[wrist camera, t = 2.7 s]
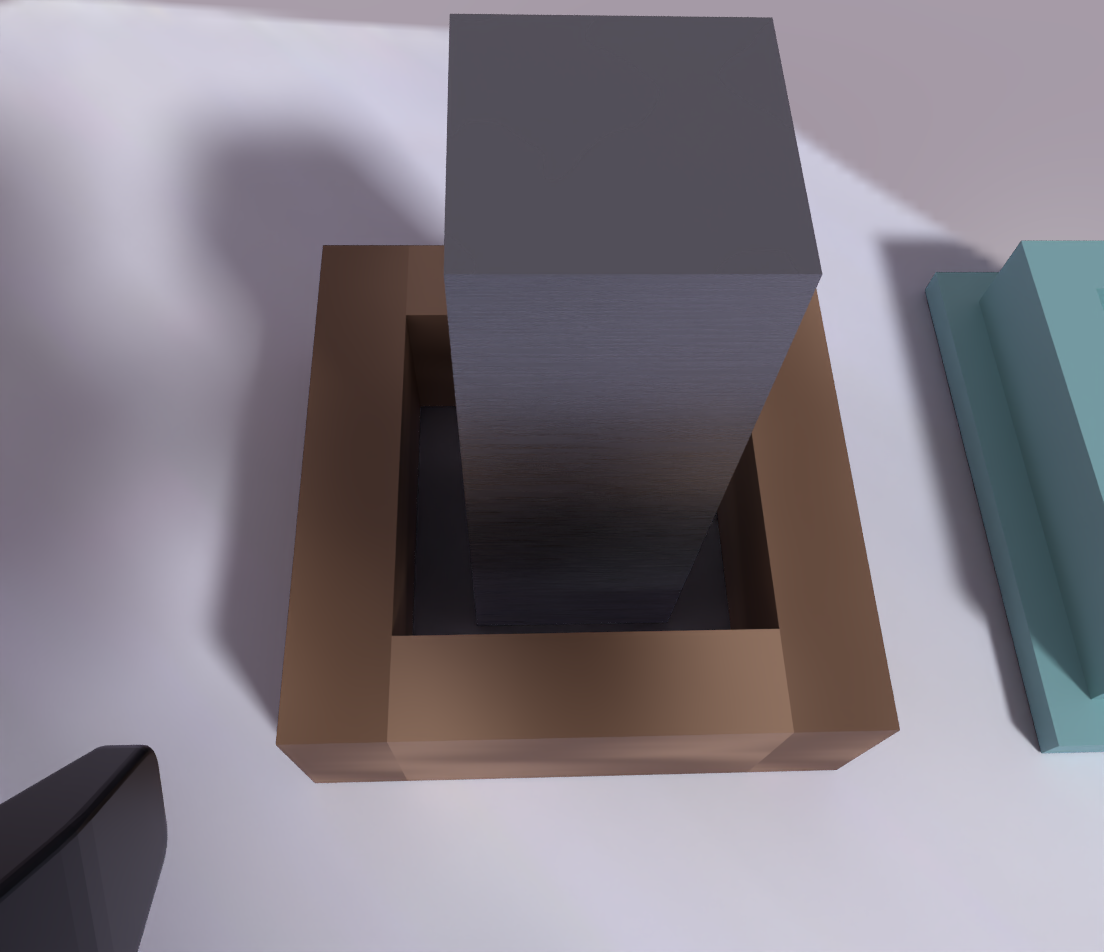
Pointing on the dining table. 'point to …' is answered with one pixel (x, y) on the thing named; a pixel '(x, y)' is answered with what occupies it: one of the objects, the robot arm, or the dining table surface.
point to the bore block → (562, 658)
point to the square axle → (613, 295)
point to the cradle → (1038, 463)
